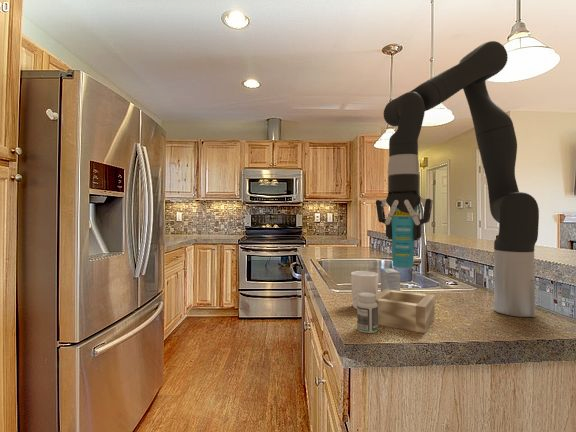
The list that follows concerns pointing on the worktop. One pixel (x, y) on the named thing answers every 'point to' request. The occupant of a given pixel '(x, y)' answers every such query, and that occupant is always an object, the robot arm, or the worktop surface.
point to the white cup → (363, 284)
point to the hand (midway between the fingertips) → (403, 239)
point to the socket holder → (405, 310)
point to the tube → (403, 239)
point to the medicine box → (390, 279)
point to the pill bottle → (367, 313)
